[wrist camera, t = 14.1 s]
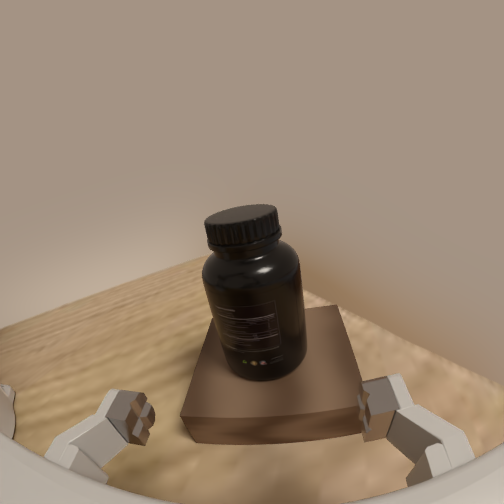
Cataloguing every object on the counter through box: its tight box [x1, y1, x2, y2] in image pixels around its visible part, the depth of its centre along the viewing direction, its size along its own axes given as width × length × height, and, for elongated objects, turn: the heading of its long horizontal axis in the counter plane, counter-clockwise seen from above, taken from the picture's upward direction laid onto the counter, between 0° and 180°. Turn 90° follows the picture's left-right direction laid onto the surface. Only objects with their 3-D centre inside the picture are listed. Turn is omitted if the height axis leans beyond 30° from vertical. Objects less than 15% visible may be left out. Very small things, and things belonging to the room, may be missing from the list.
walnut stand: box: [180, 305, 362, 445], centre depth 23 cm, size 13×13×4 cm
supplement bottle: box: [202, 204, 307, 381], centre depth 20 cm, size 7×7×12 cm
